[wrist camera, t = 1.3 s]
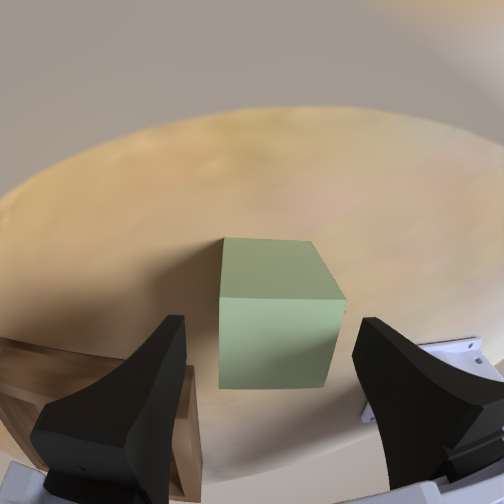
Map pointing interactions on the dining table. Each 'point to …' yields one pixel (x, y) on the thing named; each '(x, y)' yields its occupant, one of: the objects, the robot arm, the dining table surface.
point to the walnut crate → (75, 379)
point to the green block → (276, 315)
